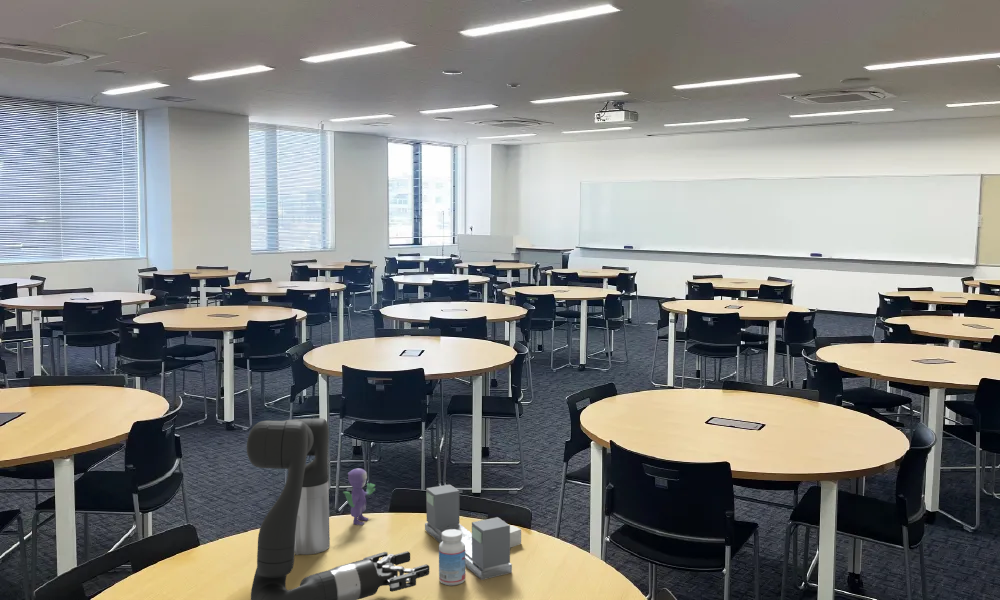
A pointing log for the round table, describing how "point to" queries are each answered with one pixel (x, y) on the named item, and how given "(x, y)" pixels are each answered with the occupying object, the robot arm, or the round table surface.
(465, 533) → the rail
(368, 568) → the robot arm
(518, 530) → the box
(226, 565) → the round table surface
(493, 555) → the modules
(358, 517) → the toy
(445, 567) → the pill bottle
